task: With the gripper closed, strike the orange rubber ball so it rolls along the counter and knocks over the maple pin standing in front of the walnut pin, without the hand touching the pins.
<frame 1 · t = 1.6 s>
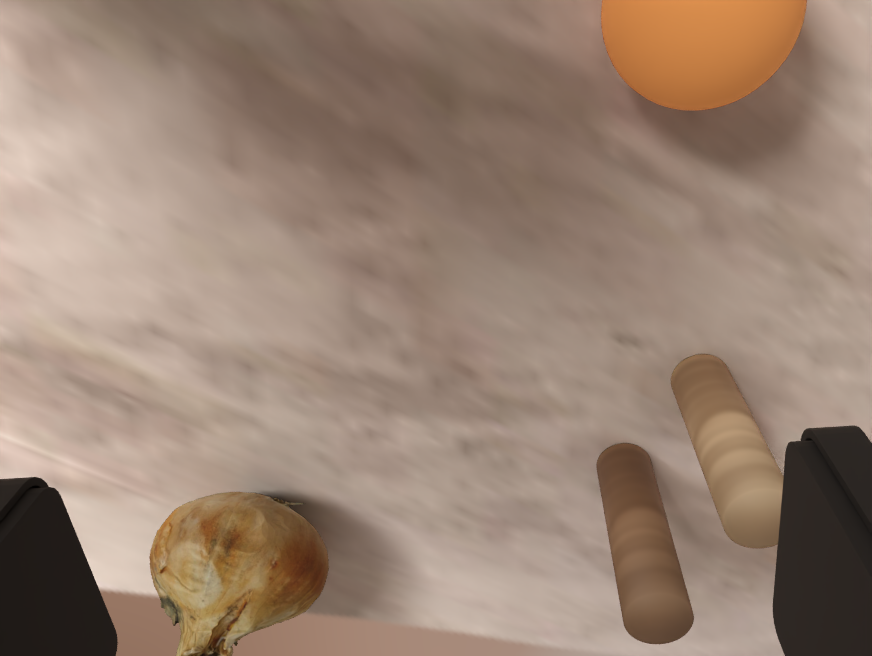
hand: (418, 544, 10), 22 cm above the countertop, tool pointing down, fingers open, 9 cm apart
walnut pin: (623, 465, 36), on the countertop
onion: (261, 517, 39), on the countertop
ball: (700, 10, 25), on the countertop
maple pin: (700, 379, 34), on the countertop
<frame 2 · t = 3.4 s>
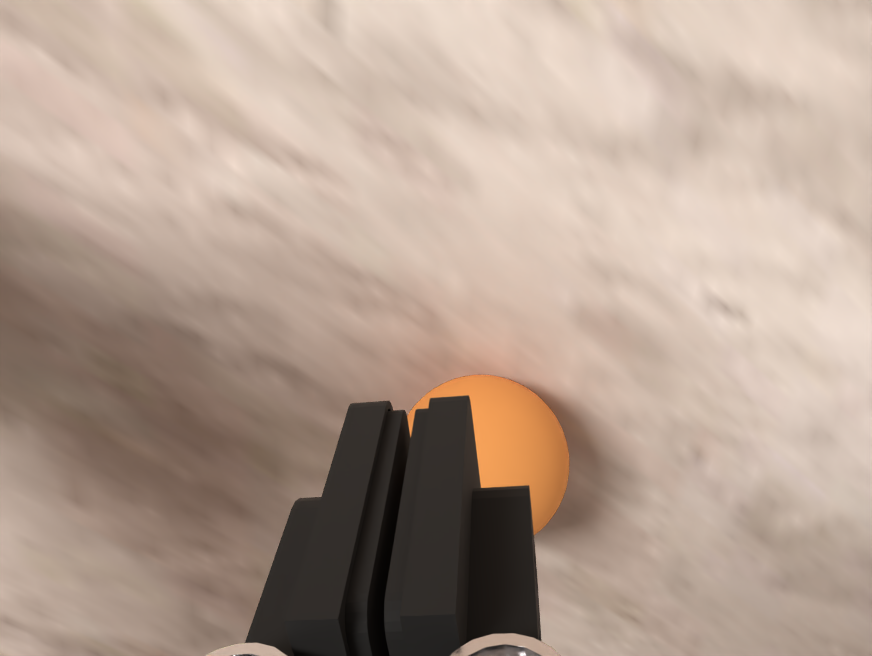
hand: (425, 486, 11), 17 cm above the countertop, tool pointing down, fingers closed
ball: (481, 462, 28), on the countertop
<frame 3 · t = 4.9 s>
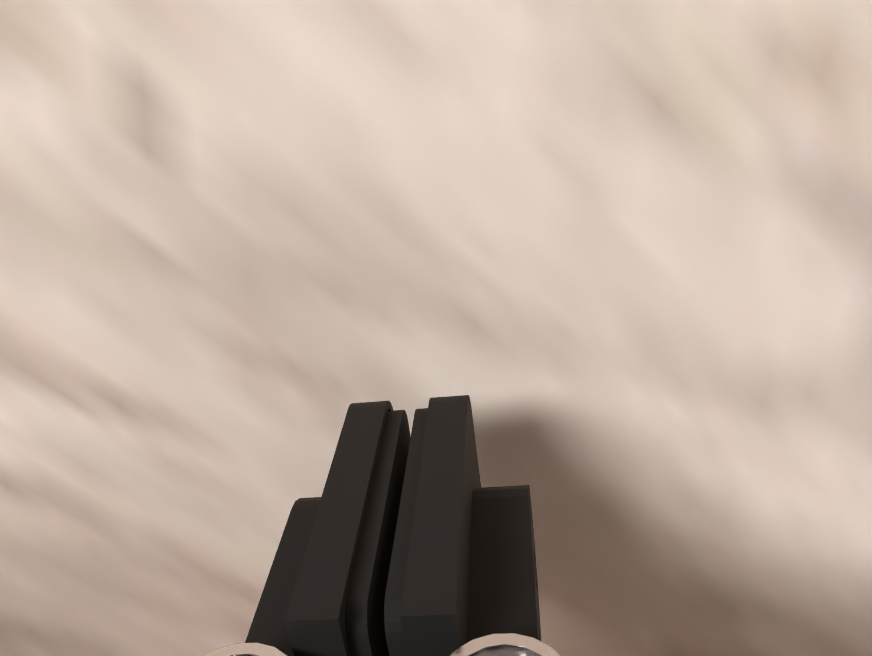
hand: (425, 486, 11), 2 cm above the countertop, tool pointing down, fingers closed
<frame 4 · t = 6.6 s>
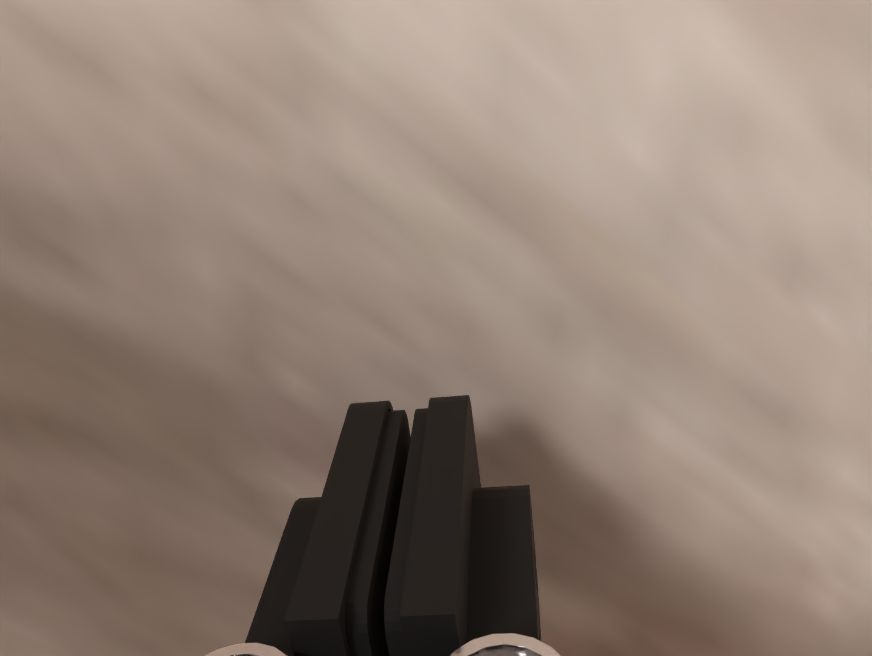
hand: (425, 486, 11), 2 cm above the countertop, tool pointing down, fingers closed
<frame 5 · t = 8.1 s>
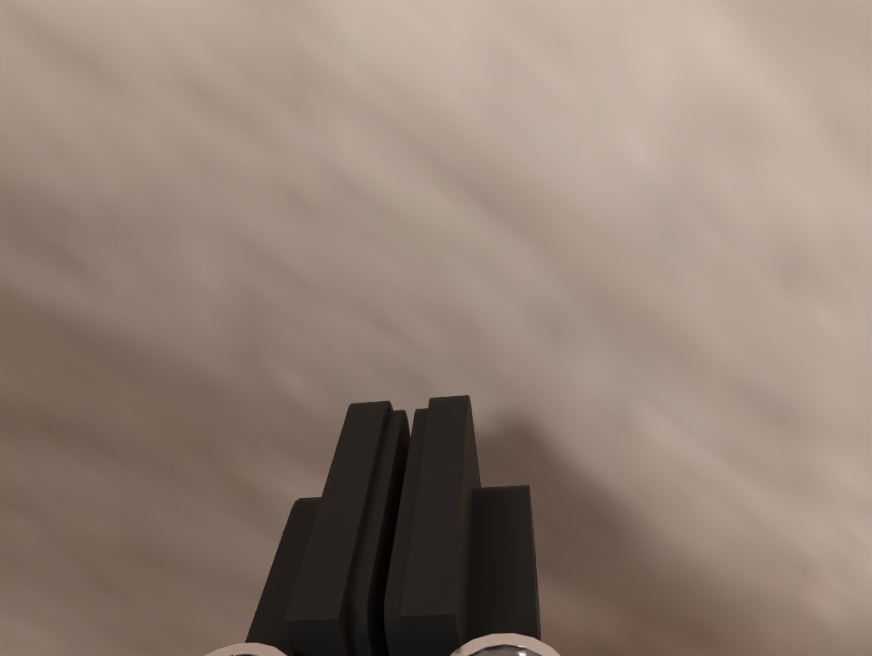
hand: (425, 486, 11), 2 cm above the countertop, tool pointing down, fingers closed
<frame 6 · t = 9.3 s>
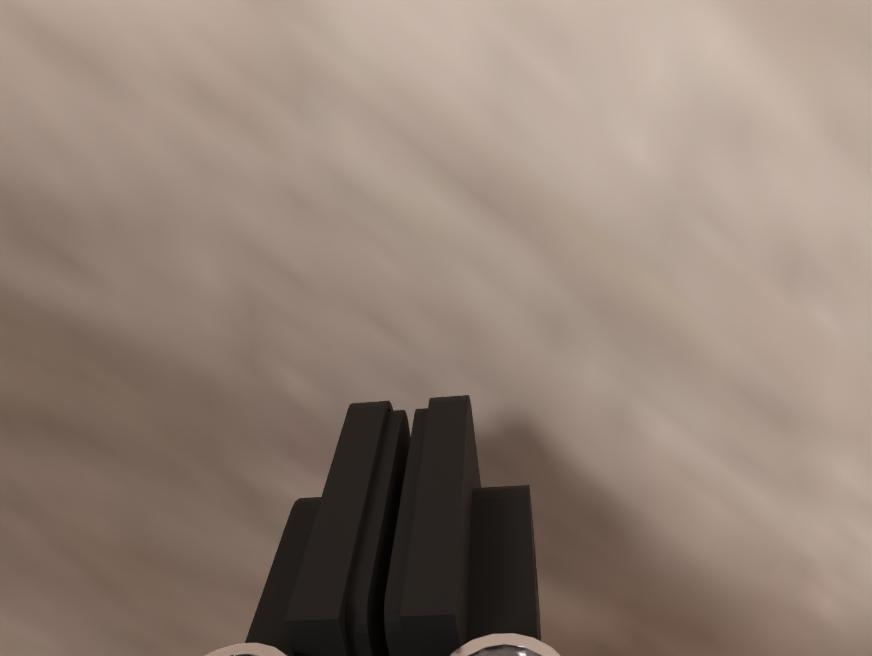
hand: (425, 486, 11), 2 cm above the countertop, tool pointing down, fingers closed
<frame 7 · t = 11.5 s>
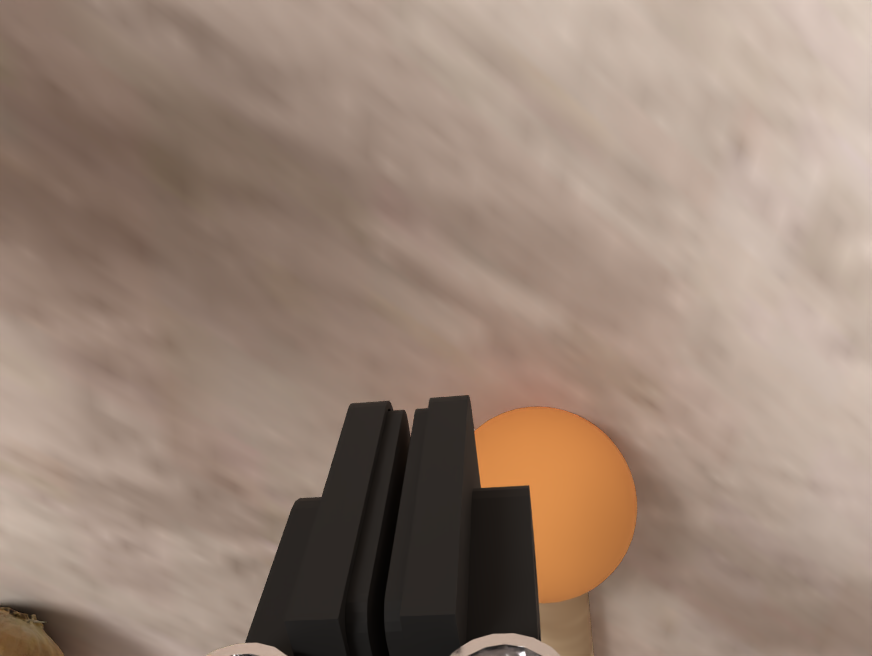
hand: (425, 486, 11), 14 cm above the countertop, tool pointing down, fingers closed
onion: (12, 625, 34), on the countertop
ball: (538, 502, 25), on the countertop
maple pin: (550, 555, 29), point 1 cm above the countertop, tilted 90°
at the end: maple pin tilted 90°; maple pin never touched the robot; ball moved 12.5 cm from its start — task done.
